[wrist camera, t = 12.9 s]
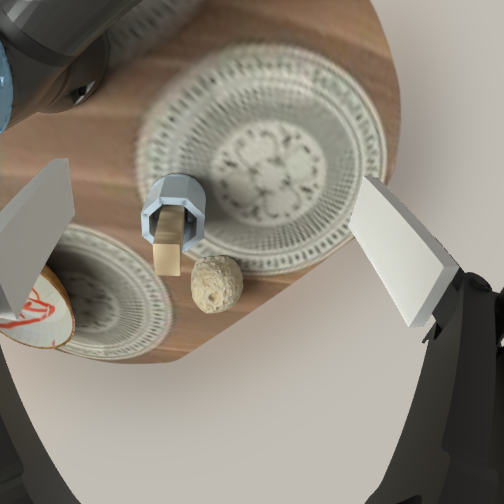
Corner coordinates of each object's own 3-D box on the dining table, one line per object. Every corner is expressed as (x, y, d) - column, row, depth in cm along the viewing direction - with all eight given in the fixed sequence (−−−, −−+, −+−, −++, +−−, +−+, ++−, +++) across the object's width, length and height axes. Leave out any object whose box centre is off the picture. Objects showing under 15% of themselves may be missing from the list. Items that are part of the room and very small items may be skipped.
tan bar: (166, 215, 48) (155, 274, 37) (166, 189, 46) (152, 243, 34) (185, 216, 49) (179, 275, 38) (186, 189, 46) (179, 244, 35)
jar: (149, 223, 50) (142, 251, 44) (148, 172, 44) (138, 195, 38) (204, 225, 51) (204, 254, 45) (207, 174, 46) (207, 197, 40)
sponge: (191, 252, 59) (170, 301, 55) (219, 241, 52) (196, 298, 47) (229, 276, 63) (212, 323, 59) (261, 269, 56) (243, 323, 52)
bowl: (35, 204, 44) (14, 231, 38) (108, 306, 59) (100, 337, 53) (-34, 251, 47) (-52, 275, 40) (32, 330, 62) (22, 356, 55)
